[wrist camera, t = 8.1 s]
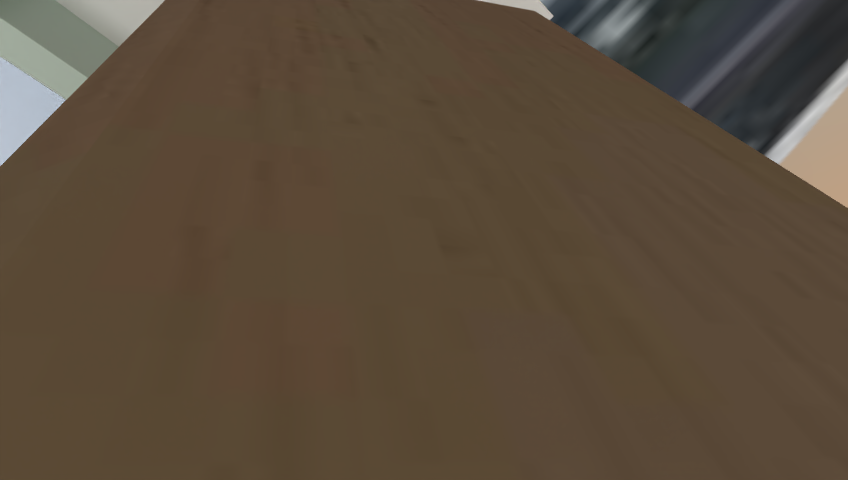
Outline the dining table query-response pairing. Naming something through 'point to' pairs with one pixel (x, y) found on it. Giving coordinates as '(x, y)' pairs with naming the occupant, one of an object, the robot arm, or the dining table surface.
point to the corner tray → (88, 35)
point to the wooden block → (407, 263)
